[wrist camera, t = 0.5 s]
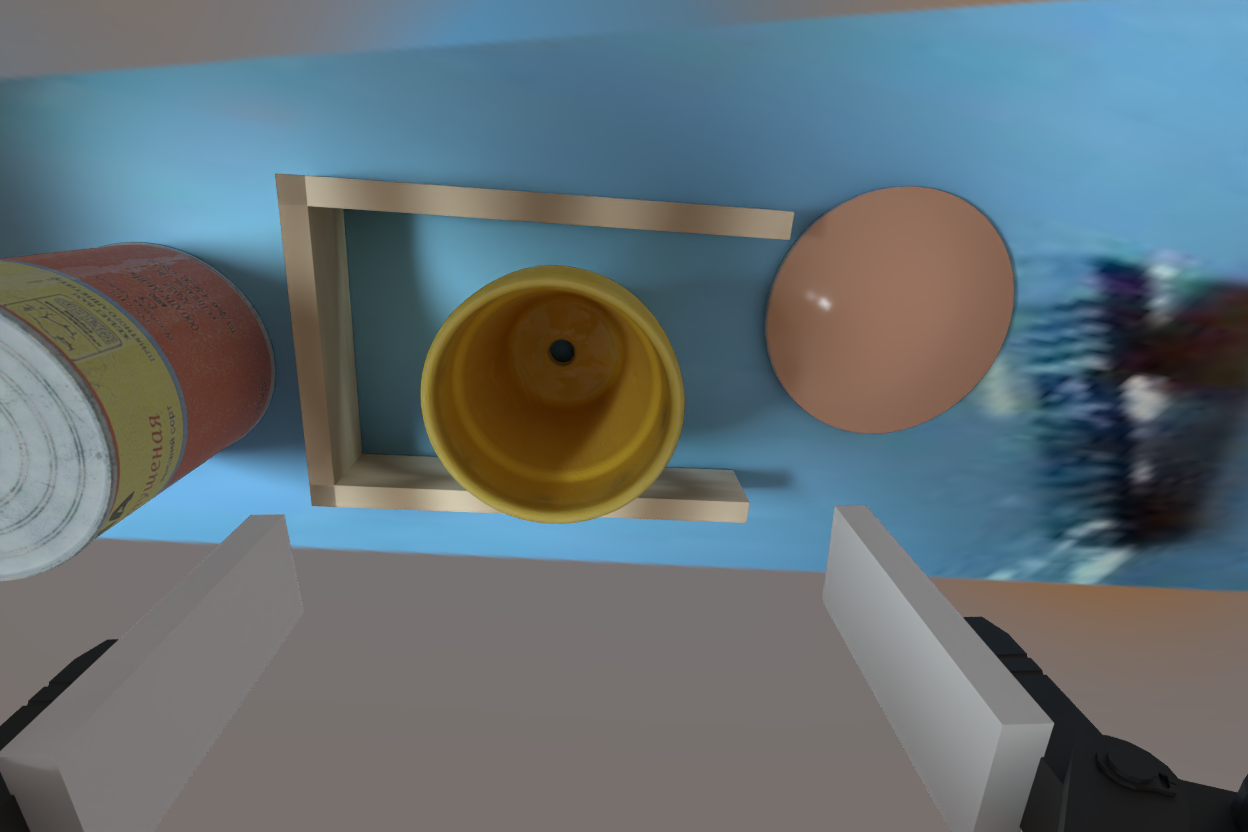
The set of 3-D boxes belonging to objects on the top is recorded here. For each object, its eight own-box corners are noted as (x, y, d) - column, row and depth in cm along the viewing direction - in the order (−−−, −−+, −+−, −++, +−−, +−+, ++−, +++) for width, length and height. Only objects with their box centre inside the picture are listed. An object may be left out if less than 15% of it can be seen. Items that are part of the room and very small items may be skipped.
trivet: (722, 376, 34) (725, 380, 33) (843, 140, 30) (849, 139, 30) (918, 460, 37) (925, 466, 36) (1053, 251, 33) (1064, 253, 32)
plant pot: (461, 427, 35) (412, 513, 25) (473, 235, 31) (422, 254, 22) (645, 449, 35) (663, 539, 26) (676, 265, 32) (710, 295, 23)
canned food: (96, 464, 34) (-147, 598, 23) (7, 254, 30) (-338, 292, 19) (301, 442, 34) (159, 564, 23) (238, 230, 31) (30, 253, 19)
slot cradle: (341, 472, 35) (311, 505, 31) (315, 175, 30) (275, 173, 26) (730, 488, 37) (746, 522, 33) (770, 209, 31) (794, 212, 28)
